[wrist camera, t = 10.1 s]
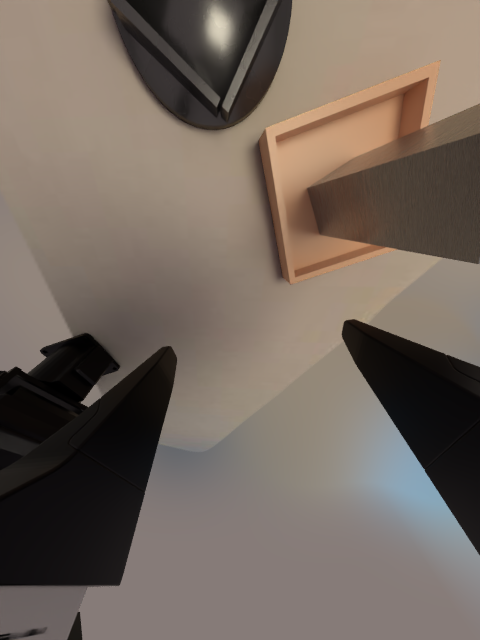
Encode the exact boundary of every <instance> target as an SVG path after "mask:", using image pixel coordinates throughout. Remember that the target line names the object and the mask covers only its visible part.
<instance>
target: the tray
mask: <svg viewBox="0 0 480 640" xmlns="http://www.w3.org/2000/svg"><path fill="white" fill-rule="evenodd" d="M440 61H441V60H439V61H437V62H434V63H431V64H429V65H426V66H424V67H421V68H419V69H416V70H413V71H411V72H408V73H406V74H403V75H401V76H398V77H395V78H393V79H390V80H388V81H385V82H383V83H380V84H377V85H375V86H372V87H370V88H367V89H365V90H362V91H359V92H357V93H354V94H352V95H349V96H347V97H344V98H341V99H339V100H336V101H334V102H331V103H329V104H326V105H323V106H321V107H318V108H316V109H313V110H311V111H308V112H305V113H303V114H300V115H298V116H295V117H293V118H290V119H287V120H285V121H282V122H280V123H277V124H275V125H272V126H269V127H267V128H265V130H264V132H263V134H262V135H261V137H260V139H259V147H260V152H261V158H262V163H263V169H264V175H265V180H266V186H267V191H268V197H269V203H270V208H271V214H272V219H273V225H274V230H275V236H276V242H277V247H278V253H279V258H280V264H281V269H282V275H283V278H284V279H285V280H286V281H287V282H288V283H289V284H290V285H291V284H294V283H297V282H300V281H303V280H306V279H309V278H312V277H315V276H318V275H321V274H324V273H327V272H330V271H333V270H336V269H339V268H342V267H345V266H348V265H351V264H354V263H357V262H360V261H363V260H366V259H369V258H372V257H375V256H378V255H381V254H385V253H388V252H391V251H394V250H397V249H393V248H388V247H382V246H377V245H371V244H366V243H360V242H355V241H349V240H344V239H339V238H333V237H328V236H322V235H320V234H319V230H318V226H317V223H316V219H315V216H314V212H313V208H312V205H311V201H310V197H309V194H308V190H307V188H308V187H309V186H311V185H312V184H314V183H316V182H317V181H319V180H320V179H322V178H323V177H325V176H326V175H328V174H330V173H331V172H333V171H334V170H336V169H337V168H339V167H341V166H342V165H344V164H345V163H347V162H348V161H350V160H351V159H353V158H355V157H357V156H359V155H361V154H364V153H366V152H368V151H371V150H373V149H375V148H378V147H380V146H382V145H385V144H387V143H389V142H392V141H394V140H396V139H399V138H401V137H403V136H406V135H408V134H410V133H413V132H415V131H417V130H420V129H422V128H424V127H427V126H428V124H429V119H430V114H431V109H432V103H433V98H434V93H435V87H436V82H437V77H438V71H439V66H440Z"/></svg>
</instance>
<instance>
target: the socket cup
mask: <svg viewBox="0 0 480 640" xmlns="http://www.w3.org/2000/svg"><path fill="white" fill-rule="evenodd" d="M107 1H108V3H109V5H110V7H111V9H112V11H113V15H114V18H115V20H116V23H117V26H118V29H119V31H120V34H121V37H122V39H123V41H124V43H125V45H126V48H127V50H128V52H129V54H130V56H131V58H132V60H133V61H134V63H135V65H136V67H137V69H138V70H139V72H140V74H141V76H142V78H143V79H144V81H145V82H146V84H147V85H148V87H149V88H150V90H151V91H152V92H153V93H154V95H155V96H156V97H157V98H158V100H159V101H160V102H161V103H162V104H163V105H164V106H165V107H166V108H167V109H168V110H169V111H170V112H172V113H173V114H174V115H176V116H177V117H178V118H180V119H181V120H183V121H185V122H186V123H188V124H191V125H193V126H195V127H198V128H203V129H209V130H218V129H225V128H228V127H231V126H234V125H235V124H237V123H239V122H241V121H242V120H244V119H245V118H246V117H247V116H249V115H250V114H251V113H252V112H253V111H254V110H255V109H256V108H257V106H258V105H259V104H260V102H261V101H262V99H263V98H264V96H265V95H266V93H267V91H268V89H269V88H270V86H271V83H272V81H273V79H274V76H275V74H276V72H277V69H278V67H279V64H280V61H281V58H282V55H283V52H284V48H285V44H286V40H287V36H288V31H289V24H290V18H291V9H292V0H107Z"/></svg>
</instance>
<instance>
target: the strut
mask: <svg viewBox="0 0 480 640" xmlns="http://www.w3.org/2000/svg"><path fill="white" fill-rule="evenodd" d="M307 190H308V194H309V197H310V201H311V205H312V208H313V212H314V216H315V219H316V223H317V226H318V230H319V234H320V235H322V236H328V237H333V238H339V239H344V240H349V241H355V242H360V243H366V244H371V245H377V246H382V247H388V248H393V249H399V250H404V251H410V252H415V253H421V254H426V255H432V256H437V257H442V258H448V259H453V260H459V261H464V262H470V263H476V264H479V263H480V104H478V105H475V106H473V107H471V108H468V109H466V110H464V111H461V112H459V113H457V114H454V115H452V116H450V117H447V118H445V119H443V120H441V121H438V122H436V123H434V124H431V125H429V126H427V127H424V128H422V129H420V130H417V131H415V132H413V133H410V134H408V135H406V136H403V137H401V138H399V139H396V140H394V141H392V142H389V143H387V144H385V145H382V146H380V147H378V148H375V149H373V150H371V151H368V152H366V153H364V154H361V155H359V156H357V157H355V158H353V159H351V160H350V161H348V162H347V163H345V164H344V165H342V166H341V167H339V168H337V169H336V170H334V171H333V172H331V173H330V174H328V175H326V176H325V177H323V178H322V179H320V180H319V181H317V182H316V183H314V184H312V185H311V186H309V187H308V188H307Z"/></svg>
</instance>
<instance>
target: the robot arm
mask: <svg viewBox="0 0 480 640" xmlns="http://www.w3.org/2000/svg"><path fill="white" fill-rule="evenodd" d="M85 337H86V338H85ZM342 338H343V340H344V342H345V344H346V346H347V348H348V350H349V352H350V354H351V356H352V358H353V360H354V362H355V364H356V365H357V367H358V369H359V370H360V372H361V373H362V374H363V376H364V378H365V379H366V381H367V382H368V384H369V385H370V387H371V388H372V390H373V392H374V393H375V394H376V396H377V398H378V399H379V401H380V402H381V404H382V405H383V407H384V409H385V410H386V412H387V413H388V415H389V416H390V418H391V419H392V421H393V422H394V424H395V425H396V427H397V428H398V430H399V431H400V433H401V435H402V436H403V438H404V439H405V441H406V442H407V444H408V445H409V447H410V449H411V450H412V451H413V453H414V455H415V456H416V458H417V459H418V461H419V462H420V464H421V465H422V467H423V468H424V469H425V472H426V473H427V475H428V477H429V478H430V480H431V481H432V483H433V484H434V486H435V487H436V489H437V490H438V492H439V493H440V495H441V497H442V498H443V500H444V501H445V503H446V504H447V506H448V507H449V509H450V510H451V512H452V513H453V515H454V516H455V518H456V519H457V521H458V523H459V524H460V526H461V527H462V529H463V530H464V532H465V533H466V535H467V536H468V538H469V540H470V541H471V543H472V544H473V546H474V547H475V549H476V550H477V552H478V553H479V555H480V367H478V366H475V365H473V364H470V363H467V362H465V361H462V360H459V359H457V358H454V357H451V356H449V355H445V354H444V353H441V352H438V351H436V350H433V349H430V348H428V347H425V346H423V345H420V344H418V343H415V342H412V341H410V340H407V339H404V338H402V337H399V336H397V335H394V334H391V333H389V332H386V331H383V330H381V329H378V328H376V327H373V326H370V325H368V324H365V323H363V322H360V321H357V320H355V319H352V320H346V321H345V322H344V325H343V330H342ZM40 352H41V353H42V354H43V355H44V356H46V357H47V358H46V359H45V360H44V361H42V362H41V363H40V364H39V365H37V366H36V367H35V368H34V369H32V370H31V371H30V372H29V373H28V374H26V373H25V372H23V371H21V369H20V368H18V367H14V368H13V369H11V370H10V371H8V372H6V371H0V640H82V631H81V621H80V620H81V619H80V612H78V610H79V608H80V605H81V603H82V600H83V597H84V595H85V592H86V590H87V587H99V586H119V585H120V583H121V580H122V576H123V573H124V569H125V566H126V562H127V558H128V554H129V550H130V547H131V543H132V539H133V536H134V532H135V528H136V524H137V521H138V517H139V513H140V510H141V506H142V502H143V498H144V495H145V490H146V486H147V482H148V479H149V475H150V472H151V468H152V464H153V460H154V457H155V453H156V449H157V445H158V442H159V438H160V434H161V430H162V427H163V423H164V419H165V415H166V412H167V408H168V404H169V400H170V397H171V393H172V389H173V384H174V378H175V371H176V365H177V357H176V355H175V353H174V351H173V349H172V347H171V346H166V347H162V348H161V349H159V350H158V351H157V352H156V353H155V354H153V355H152V356H151V357H150V358H148V359H147V360H146V361H145V362H144V363H142V364H141V365H140V366H139V367H137V368H136V369H135V370H134V371H133V372H131V373H130V374H129V375H128V376H126V377H125V378H124V379H123V380H122V381H120V382H119V383H118V384H117V385H115V386H114V387H113V388H112V389H111V390H109V391H108V392H107V393H106V394H104V395H103V396H102V397H101V399H98V400H97V401H96V402H95V403H93V405H91V406H90V407H87V406H85V405H83V404H81V401H83V400H84V399H85V397H86V396H87V395H88V393H89V392H90V390H91V389H92V388H93V386H94V385H95V384H96V383H97V382H98V380H99V379H100V378H101V376H103V375H106V374H109V373H112V372H115V371H118V370H119V368H120V366H119V365H118V364H117V363H116V362H115V361H114V359H113V358H112V357H111V356H110V355H109V354H108V353H107V352H106V351H105V350H104V349H103V348H102V347H101V346H100V345H99V344H98V343H97V342H96V341H95V340H94V339H93V338H92V337H91V336H90V335H89V334H86V333H85V334H82V335H79V336H76V337H73V338H70V339H67V340H64V341H61V342H58V343H55V344H52V345H49V346H46V347H44V348H42V349H41V350H40Z"/></svg>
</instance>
